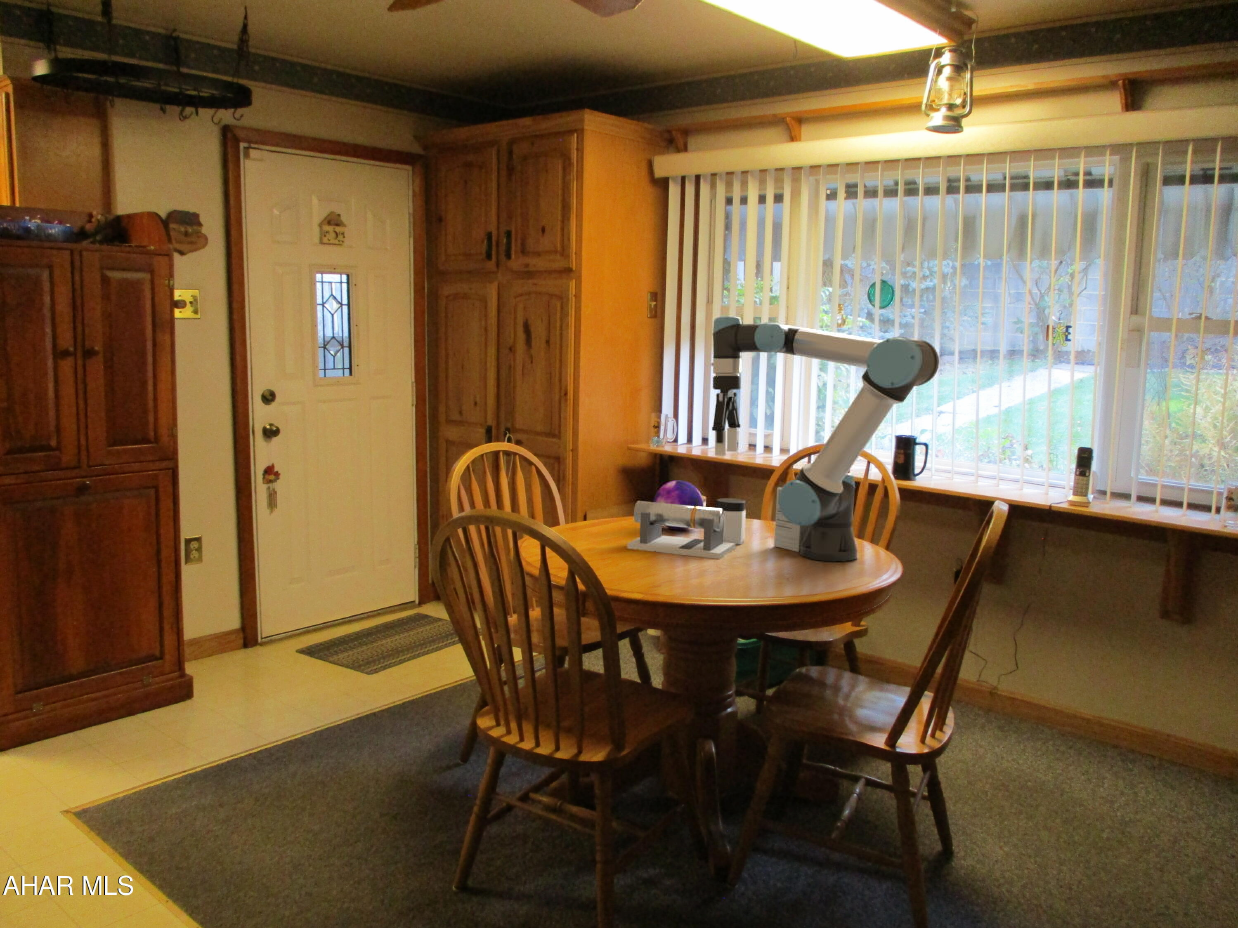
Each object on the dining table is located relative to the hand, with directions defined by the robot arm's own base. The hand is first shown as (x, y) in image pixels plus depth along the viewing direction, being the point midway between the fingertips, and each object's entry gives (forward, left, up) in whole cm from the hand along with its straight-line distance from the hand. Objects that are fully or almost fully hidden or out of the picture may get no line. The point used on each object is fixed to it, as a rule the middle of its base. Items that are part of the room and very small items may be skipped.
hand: (726, 453), depth 261 cm
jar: (+1, -11, -27) cm, 29 cm away
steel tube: (+11, +5, -17) cm, 21 cm away
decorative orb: (+20, -21, -27) cm, 39 cm away
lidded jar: (+22, -38, -27) cm, 51 cm away
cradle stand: (+10, +5, -26) cm, 29 cm away
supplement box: (-18, -13, -27) cm, 35 cm away
